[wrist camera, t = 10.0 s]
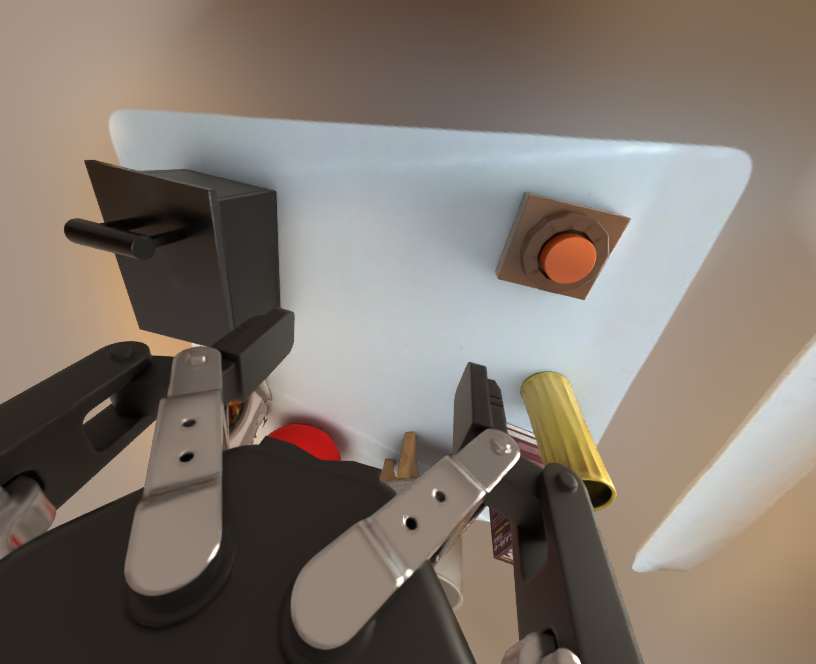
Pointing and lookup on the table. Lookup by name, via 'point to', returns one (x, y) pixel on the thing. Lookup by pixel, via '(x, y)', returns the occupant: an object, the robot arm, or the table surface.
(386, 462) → the planter
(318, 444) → the tomato
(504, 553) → the supplement box
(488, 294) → the table surface
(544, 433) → the vase
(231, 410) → the meal
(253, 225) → the box
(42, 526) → the robot arm
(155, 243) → the black box lid
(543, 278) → the control block
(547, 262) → the button
